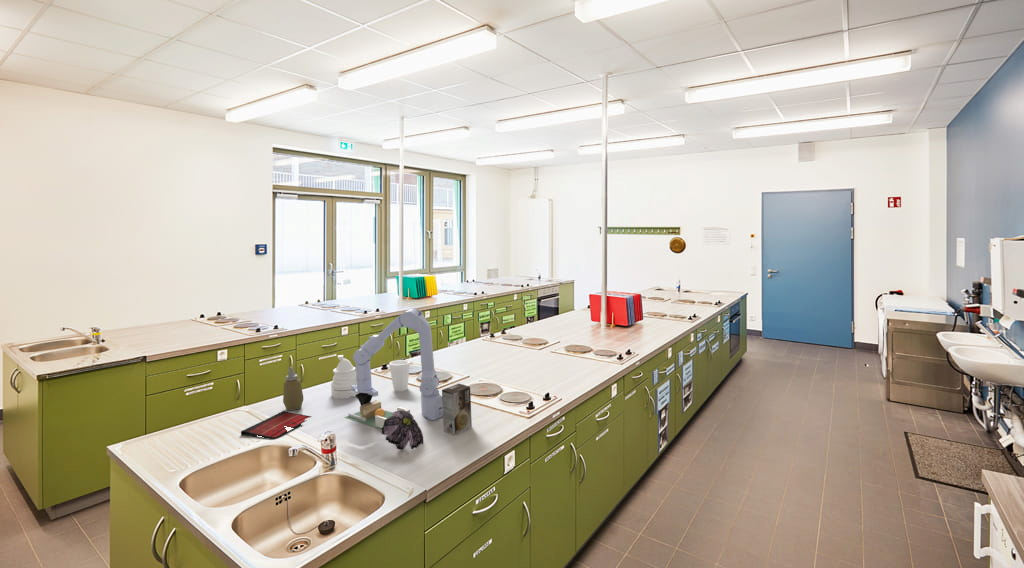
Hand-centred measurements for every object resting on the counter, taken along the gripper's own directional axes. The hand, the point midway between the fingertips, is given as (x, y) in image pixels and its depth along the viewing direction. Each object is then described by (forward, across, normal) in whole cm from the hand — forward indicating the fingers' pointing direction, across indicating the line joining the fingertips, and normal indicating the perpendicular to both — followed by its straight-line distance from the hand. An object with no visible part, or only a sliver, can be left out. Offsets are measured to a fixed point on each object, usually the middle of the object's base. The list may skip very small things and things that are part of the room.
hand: (365, 410), depth 194 cm
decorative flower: (+3, +33, -9) cm, 34 cm away
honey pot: (+3, -31, +13) cm, 34 cm away
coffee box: (+3, +41, +10) cm, 42 cm away
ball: (0, +9, 0) cm, 9 cm away
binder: (+3, -20, -25) cm, 32 cm away
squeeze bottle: (+2, -34, -11) cm, 36 cm away
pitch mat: (+2, +8, 0) cm, 8 cm away
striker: (+2, +3, 0) cm, 4 cm away
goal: (+2, +17, 0) cm, 17 cm away
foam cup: (+3, -14, +31) cm, 34 cm away
